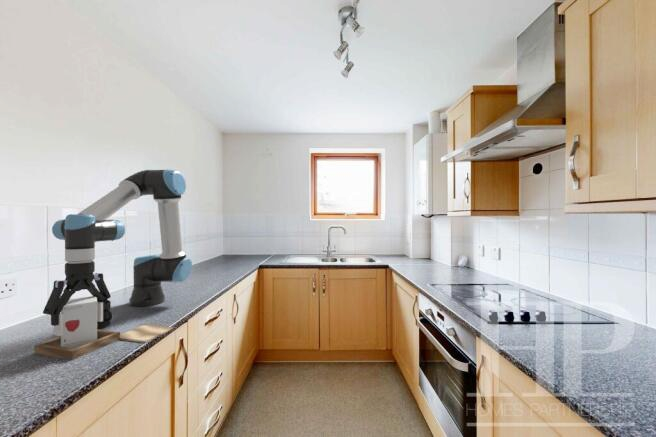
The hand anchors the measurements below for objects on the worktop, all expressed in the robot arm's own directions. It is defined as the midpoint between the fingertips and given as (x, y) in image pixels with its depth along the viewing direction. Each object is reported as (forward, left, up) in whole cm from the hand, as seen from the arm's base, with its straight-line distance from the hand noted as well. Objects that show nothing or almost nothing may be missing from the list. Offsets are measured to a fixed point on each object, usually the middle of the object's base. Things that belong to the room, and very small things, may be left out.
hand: (79, 327), depth 98 cm
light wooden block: (-14, +12, -6) cm, 19 cm away
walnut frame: (0, 0, -6) cm, 6 cm away
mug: (-15, -11, -6) cm, 20 cm away
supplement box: (0, 0, -6) cm, 6 cm away
